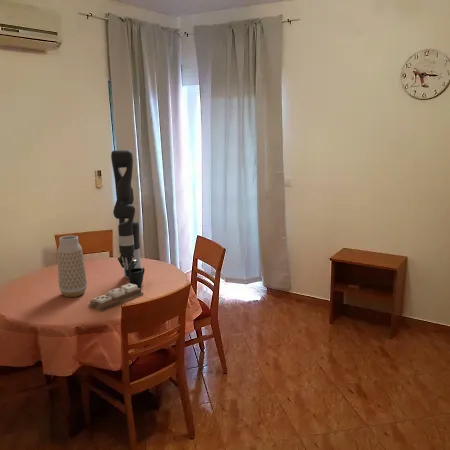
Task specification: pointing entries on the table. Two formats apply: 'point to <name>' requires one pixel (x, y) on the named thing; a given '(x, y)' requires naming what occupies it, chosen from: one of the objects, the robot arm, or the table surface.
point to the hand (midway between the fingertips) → (128, 276)
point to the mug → (136, 276)
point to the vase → (71, 267)
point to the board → (115, 300)
